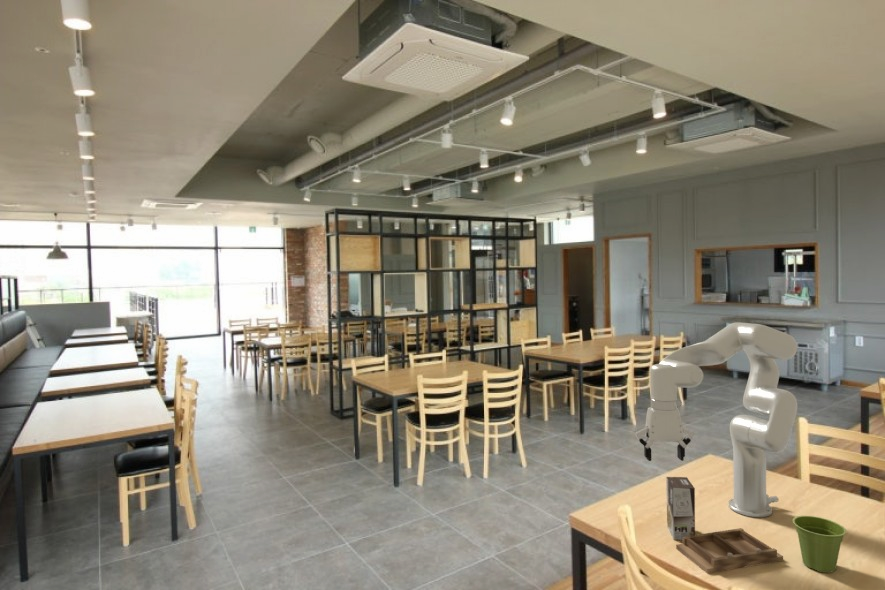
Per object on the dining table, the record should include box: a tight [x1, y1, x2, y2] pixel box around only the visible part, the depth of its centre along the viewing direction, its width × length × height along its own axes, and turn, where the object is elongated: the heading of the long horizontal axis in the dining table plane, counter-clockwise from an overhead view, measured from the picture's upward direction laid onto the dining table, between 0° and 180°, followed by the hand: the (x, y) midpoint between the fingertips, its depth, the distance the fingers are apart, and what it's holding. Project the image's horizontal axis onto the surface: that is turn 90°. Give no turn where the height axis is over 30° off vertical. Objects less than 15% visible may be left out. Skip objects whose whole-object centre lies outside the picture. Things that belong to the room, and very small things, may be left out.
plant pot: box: [792, 515, 847, 573], centre depth 142 cm, size 12×12×11 cm
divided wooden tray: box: [675, 527, 784, 574], centre depth 149 cm, size 24×13×4 cm, turn 102°
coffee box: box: [665, 476, 696, 541], centre depth 162 cm, size 9×6×16 cm
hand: (664, 459), depth 163 cm, fingers open, 9 cm apart
